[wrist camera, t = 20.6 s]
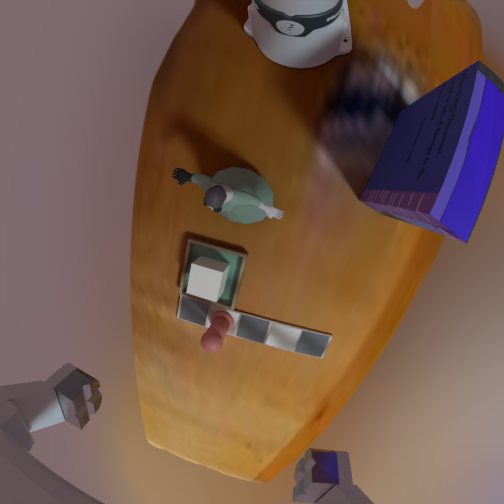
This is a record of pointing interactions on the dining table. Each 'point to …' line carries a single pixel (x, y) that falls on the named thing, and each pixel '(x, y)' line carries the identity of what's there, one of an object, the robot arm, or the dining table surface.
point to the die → (207, 278)
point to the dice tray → (222, 254)
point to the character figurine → (235, 194)
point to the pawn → (217, 331)
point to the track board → (257, 328)
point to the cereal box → (442, 155)
